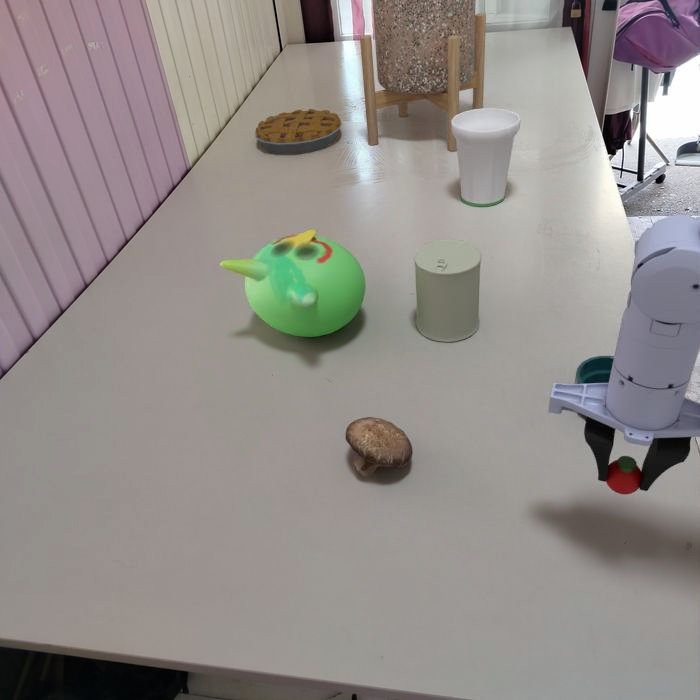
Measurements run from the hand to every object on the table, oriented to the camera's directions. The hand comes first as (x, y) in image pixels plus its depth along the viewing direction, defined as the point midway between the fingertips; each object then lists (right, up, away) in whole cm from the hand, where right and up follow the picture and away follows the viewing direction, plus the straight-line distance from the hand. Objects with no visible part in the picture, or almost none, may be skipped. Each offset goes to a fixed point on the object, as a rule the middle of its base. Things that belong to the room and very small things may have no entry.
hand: (622, 477), depth 59 cm
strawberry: (0, -1, +1) cm, 1 cm away
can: (-11, +16, +35) cm, 40 cm away
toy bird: (-31, +15, +38) cm, 52 cm away
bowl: (+6, +5, +19) cm, 21 cm away
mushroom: (-22, -1, +16) cm, 27 cm away
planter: (-6, +65, +97) cm, 117 cm away
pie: (-38, +65, +101) cm, 126 cm away
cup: (+1, +42, +66) cm, 78 cm away
